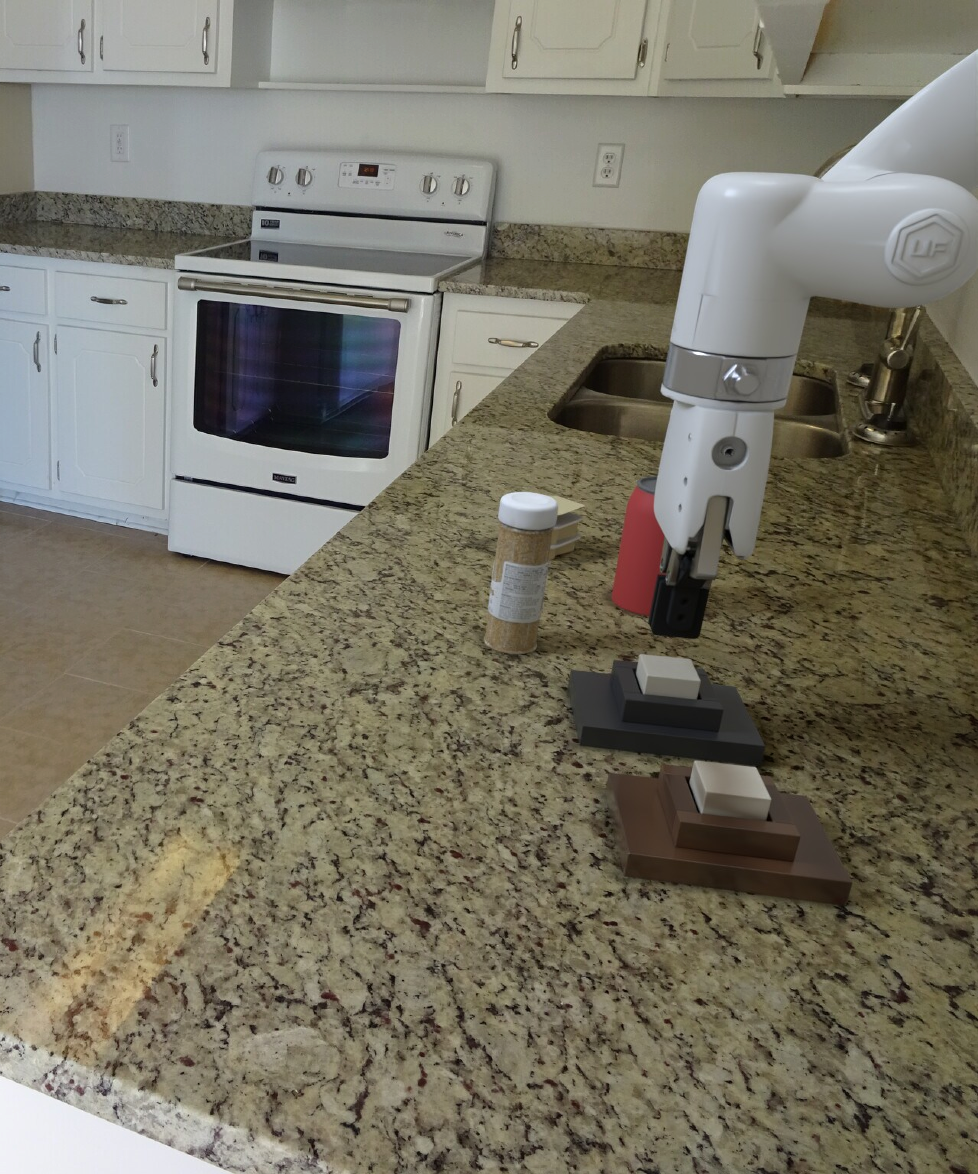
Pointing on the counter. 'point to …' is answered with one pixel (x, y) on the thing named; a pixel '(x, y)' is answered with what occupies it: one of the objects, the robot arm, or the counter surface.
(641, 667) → the key
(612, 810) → the brown stepped base
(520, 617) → the tan spice bottle
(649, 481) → the beer can
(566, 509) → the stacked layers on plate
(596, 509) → the counter surface
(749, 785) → the key
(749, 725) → the grey stepped base
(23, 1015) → the counter surface
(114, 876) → the counter surface
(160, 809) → the counter surface
